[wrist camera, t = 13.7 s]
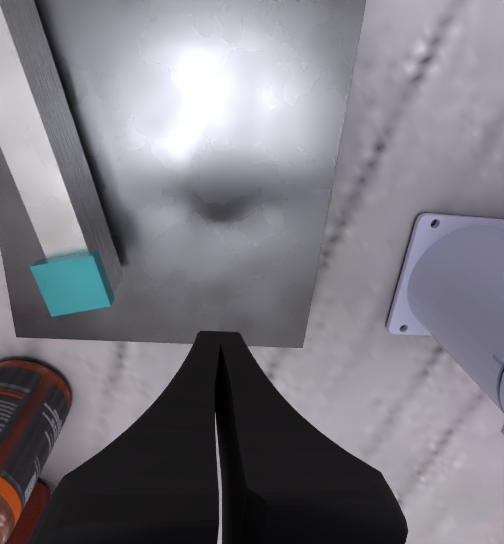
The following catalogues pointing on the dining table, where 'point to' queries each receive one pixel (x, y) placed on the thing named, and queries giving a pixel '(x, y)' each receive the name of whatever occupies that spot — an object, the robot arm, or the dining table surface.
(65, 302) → the bar
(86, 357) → the dining table surface
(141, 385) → the dining table surface
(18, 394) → the supplement bottle
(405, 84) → the dining table surface
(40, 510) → the plant pot
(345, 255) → the dining table surface
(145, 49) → the tray
